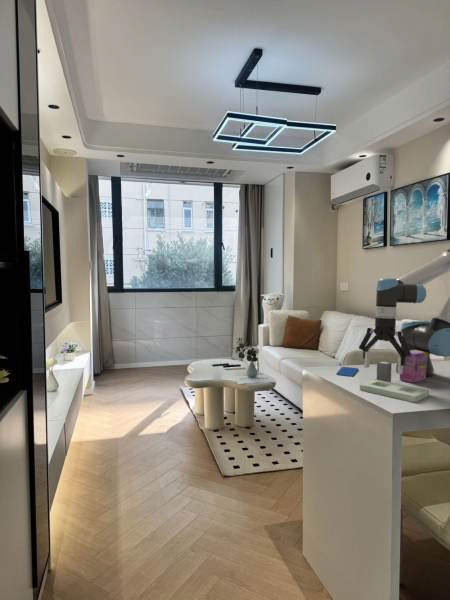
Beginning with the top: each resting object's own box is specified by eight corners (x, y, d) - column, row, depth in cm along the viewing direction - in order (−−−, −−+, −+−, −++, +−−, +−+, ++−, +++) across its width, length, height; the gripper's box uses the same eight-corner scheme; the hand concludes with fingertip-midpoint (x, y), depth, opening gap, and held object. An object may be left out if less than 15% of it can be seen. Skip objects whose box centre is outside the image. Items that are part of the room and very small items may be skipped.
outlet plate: (375, 384, 154) (375, 378, 154) (429, 395, 139) (429, 389, 139) (359, 389, 146) (359, 384, 146) (415, 402, 131) (415, 396, 131)
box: (412, 383, 155) (414, 353, 155) (399, 379, 160) (401, 351, 159) (426, 380, 161) (428, 351, 161) (412, 377, 166) (414, 349, 166)
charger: (381, 380, 159) (381, 361, 159) (390, 382, 156) (391, 362, 156) (376, 382, 157) (377, 362, 156) (386, 384, 154) (386, 364, 153)
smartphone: (335, 374, 169) (342, 366, 182) (335, 376, 169) (342, 368, 182) (353, 376, 165) (358, 368, 179) (353, 378, 166) (358, 370, 179)
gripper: (351, 315, 162) (349, 365, 163) (413, 320, 143) (410, 378, 144) (361, 314, 167) (358, 363, 168) (422, 319, 148) (419, 375, 149)
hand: (382, 370), depth 156 cm, fingers open, 13 cm apart
